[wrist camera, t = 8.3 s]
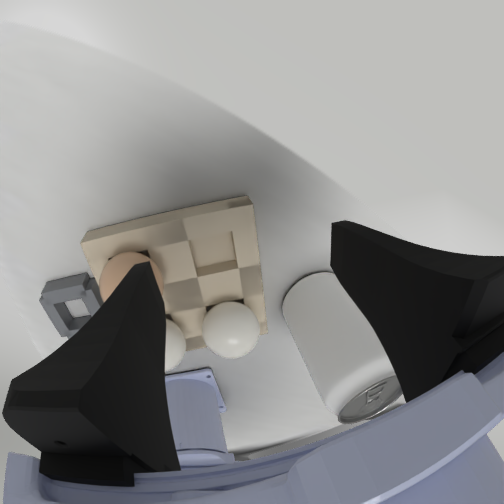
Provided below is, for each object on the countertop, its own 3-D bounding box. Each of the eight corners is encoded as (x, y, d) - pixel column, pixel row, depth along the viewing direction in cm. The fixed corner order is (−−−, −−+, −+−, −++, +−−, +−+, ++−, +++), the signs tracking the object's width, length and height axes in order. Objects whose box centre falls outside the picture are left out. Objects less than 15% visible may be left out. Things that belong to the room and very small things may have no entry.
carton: (262, 319, 26) (267, 333, 25) (138, 345, 25) (137, 359, 23) (247, 195, 20) (253, 204, 19) (87, 231, 19) (80, 243, 17)
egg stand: (117, 321, 23) (115, 334, 22) (68, 329, 22) (64, 341, 21) (93, 271, 20) (88, 283, 19) (42, 283, 20) (35, 294, 18)
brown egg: (156, 234, 19) (151, 269, 15) (171, 286, 21) (171, 327, 17) (97, 247, 18) (81, 283, 14) (117, 296, 20) (108, 337, 17)
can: (284, 332, 28) (330, 436, 18) (276, 281, 25) (335, 399, 14) (343, 312, 29) (403, 402, 19) (344, 260, 25) (424, 356, 15)
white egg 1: (190, 338, 24) (194, 378, 20) (143, 346, 24) (141, 386, 20) (176, 300, 22) (178, 341, 18) (124, 310, 21) (118, 351, 18)
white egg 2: (255, 324, 25) (268, 362, 21) (205, 335, 24) (212, 375, 21) (249, 284, 23) (263, 322, 19) (193, 296, 22) (198, 337, 18)
